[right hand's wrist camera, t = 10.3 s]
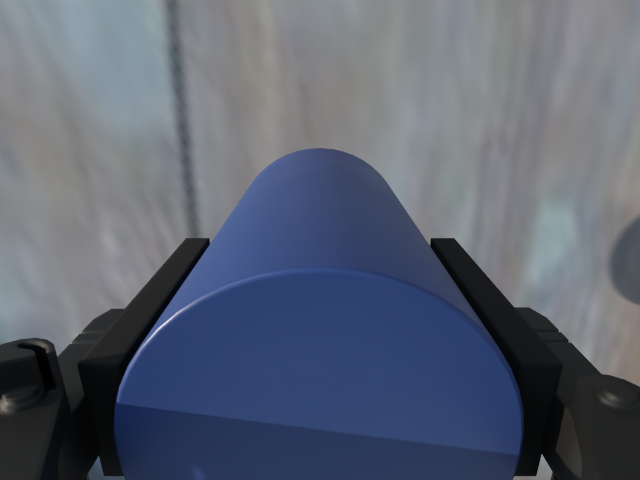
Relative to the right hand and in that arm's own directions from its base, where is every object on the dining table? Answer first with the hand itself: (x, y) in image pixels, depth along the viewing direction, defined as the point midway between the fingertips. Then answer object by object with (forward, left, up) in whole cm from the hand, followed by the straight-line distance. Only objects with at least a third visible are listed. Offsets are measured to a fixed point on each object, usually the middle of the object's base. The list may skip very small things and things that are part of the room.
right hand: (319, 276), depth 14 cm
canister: (0, 0, -5) cm, 5 cm away
